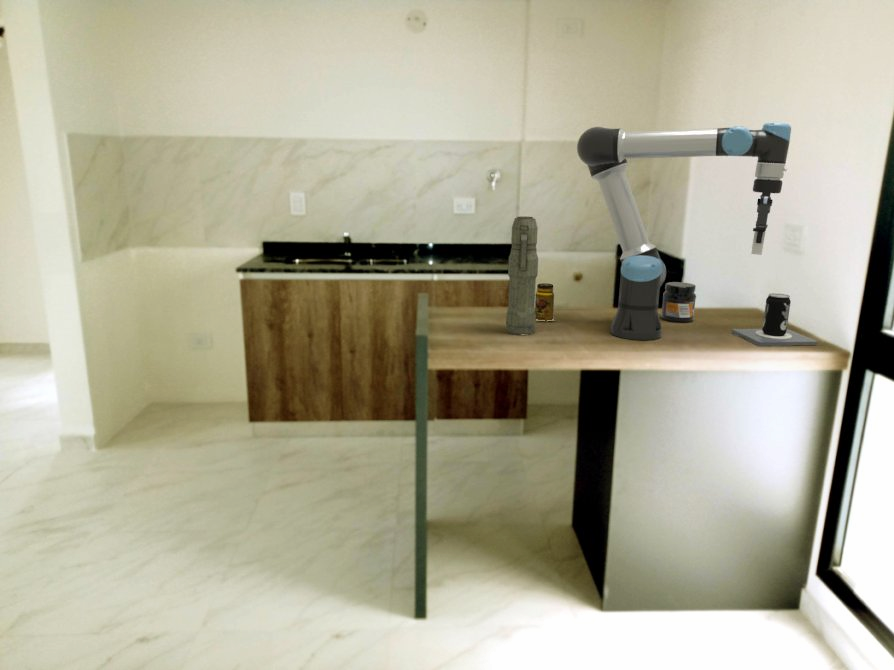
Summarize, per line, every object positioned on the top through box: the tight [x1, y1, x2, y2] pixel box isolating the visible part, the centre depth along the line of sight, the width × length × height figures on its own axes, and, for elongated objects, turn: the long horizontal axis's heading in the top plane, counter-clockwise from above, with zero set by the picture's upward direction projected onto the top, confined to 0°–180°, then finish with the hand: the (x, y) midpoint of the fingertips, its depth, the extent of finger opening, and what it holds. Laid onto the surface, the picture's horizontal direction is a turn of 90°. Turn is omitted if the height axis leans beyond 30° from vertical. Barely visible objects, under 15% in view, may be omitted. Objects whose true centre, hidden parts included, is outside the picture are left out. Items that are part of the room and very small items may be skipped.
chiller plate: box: [730, 328, 819, 347], centre depth 205 cm, size 18×16×2 cm
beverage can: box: [761, 292, 792, 336], centre depth 203 cm, size 7×7×12 cm
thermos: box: [505, 216, 539, 336], centre depth 205 cm, size 9×12×35 cm
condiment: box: [534, 282, 555, 321], centre depth 225 cm, size 7×8×12 cm
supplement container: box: [660, 281, 697, 323], centre depth 227 cm, size 10×10×12 cm
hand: (756, 251), depth 202 cm, fingers open, 13 cm apart
